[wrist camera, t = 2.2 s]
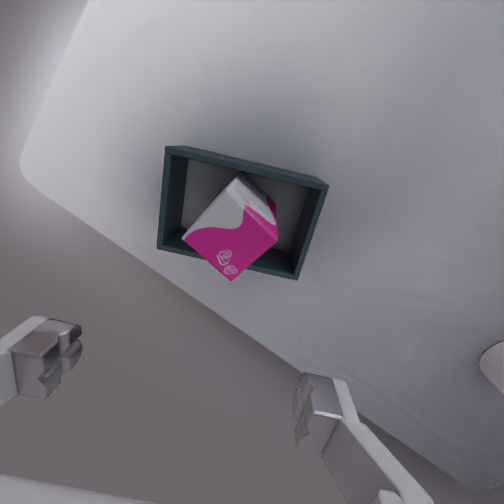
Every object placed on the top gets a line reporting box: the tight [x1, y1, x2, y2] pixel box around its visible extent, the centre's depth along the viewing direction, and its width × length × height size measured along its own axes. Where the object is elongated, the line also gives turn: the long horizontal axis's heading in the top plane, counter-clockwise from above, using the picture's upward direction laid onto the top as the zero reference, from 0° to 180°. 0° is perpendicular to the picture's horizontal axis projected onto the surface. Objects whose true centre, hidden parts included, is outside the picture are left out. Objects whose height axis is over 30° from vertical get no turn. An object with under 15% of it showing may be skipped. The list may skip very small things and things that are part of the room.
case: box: [157, 146, 329, 280], centre depth 28 cm, size 15×10×6 cm
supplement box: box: [182, 171, 278, 281], centre depth 26 cm, size 6×6×12 cm
